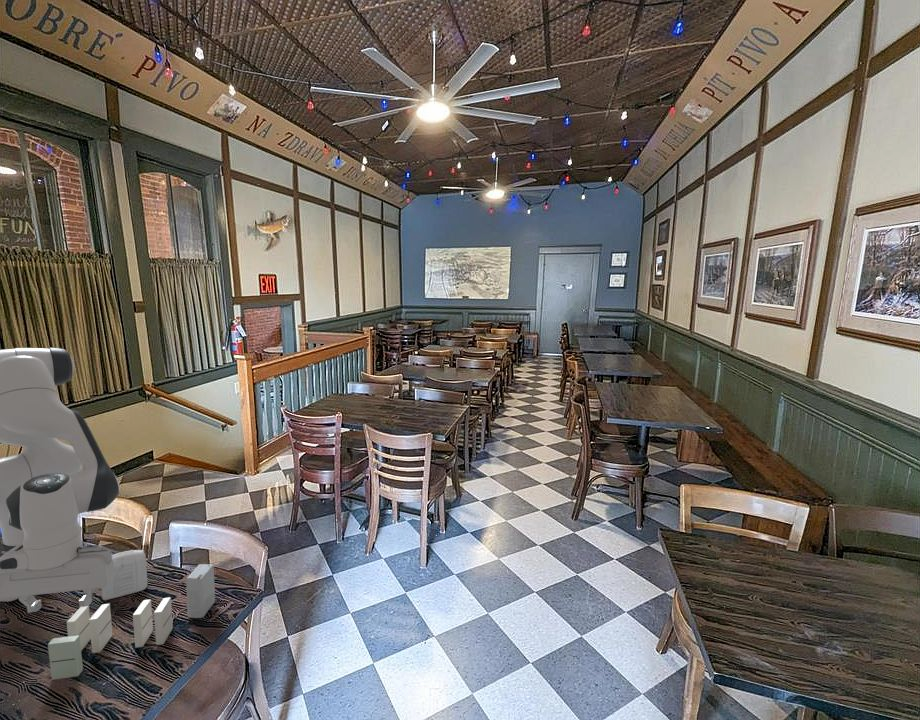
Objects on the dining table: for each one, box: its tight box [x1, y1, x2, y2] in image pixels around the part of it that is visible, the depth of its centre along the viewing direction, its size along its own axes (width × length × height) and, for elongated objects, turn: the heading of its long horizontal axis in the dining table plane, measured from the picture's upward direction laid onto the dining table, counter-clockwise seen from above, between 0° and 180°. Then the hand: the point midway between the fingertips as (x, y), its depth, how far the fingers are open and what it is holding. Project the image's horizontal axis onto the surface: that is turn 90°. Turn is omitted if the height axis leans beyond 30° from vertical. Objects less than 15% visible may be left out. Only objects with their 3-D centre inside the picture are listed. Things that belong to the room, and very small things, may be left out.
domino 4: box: [153, 596, 174, 646], centre depth 103 cm, size 2×5×9 cm, turn 13°
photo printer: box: [100, 549, 148, 601], centre depth 117 cm, size 10×4×12 cm, turn 123°
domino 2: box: [89, 603, 113, 654], centre depth 100 cm, size 2×5×9 cm, turn 13°
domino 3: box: [132, 599, 154, 649], centre depth 102 cm, size 2×5×9 cm, turn 13°
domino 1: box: [66, 606, 91, 652], centre depth 99 cm, size 2×5×9 cm, turn 13°
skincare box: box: [185, 563, 216, 619], centre depth 111 cm, size 6×4×12 cm
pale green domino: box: [47, 635, 84, 681], centre depth 91 cm, size 2×5×9 cm, turn 103°
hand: (60, 607), depth 89 cm, fingers open, 8 cm apart
